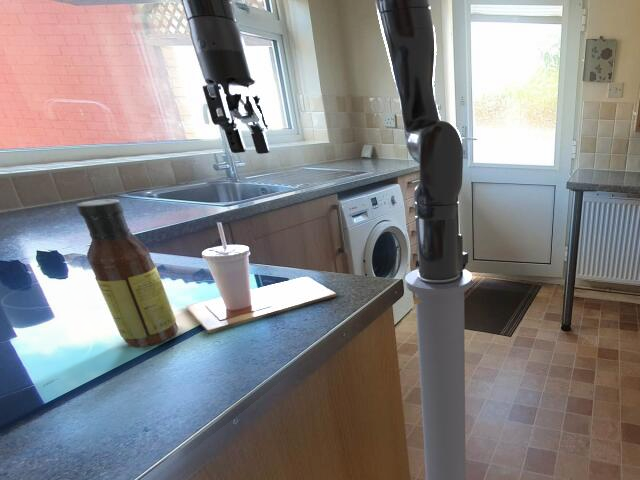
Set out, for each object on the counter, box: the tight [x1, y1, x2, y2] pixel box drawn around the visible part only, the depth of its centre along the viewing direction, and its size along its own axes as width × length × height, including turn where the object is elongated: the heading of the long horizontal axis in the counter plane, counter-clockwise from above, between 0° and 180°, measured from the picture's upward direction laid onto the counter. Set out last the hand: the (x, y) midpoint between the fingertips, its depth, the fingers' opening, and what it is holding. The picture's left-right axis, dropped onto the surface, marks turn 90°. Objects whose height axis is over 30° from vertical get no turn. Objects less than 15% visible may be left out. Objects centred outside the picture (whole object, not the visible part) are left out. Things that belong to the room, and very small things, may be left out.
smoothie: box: [201, 221, 252, 310], centre depth 66 cm, size 6×6×14 cm
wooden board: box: [185, 276, 338, 334], centre depth 71 cm, size 20×12×1 cm, turn 139°
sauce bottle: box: [76, 198, 179, 348], centre depth 55 cm, size 7×6×20 cm
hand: (252, 153), depth 74 cm, fingers open, 8 cm apart
